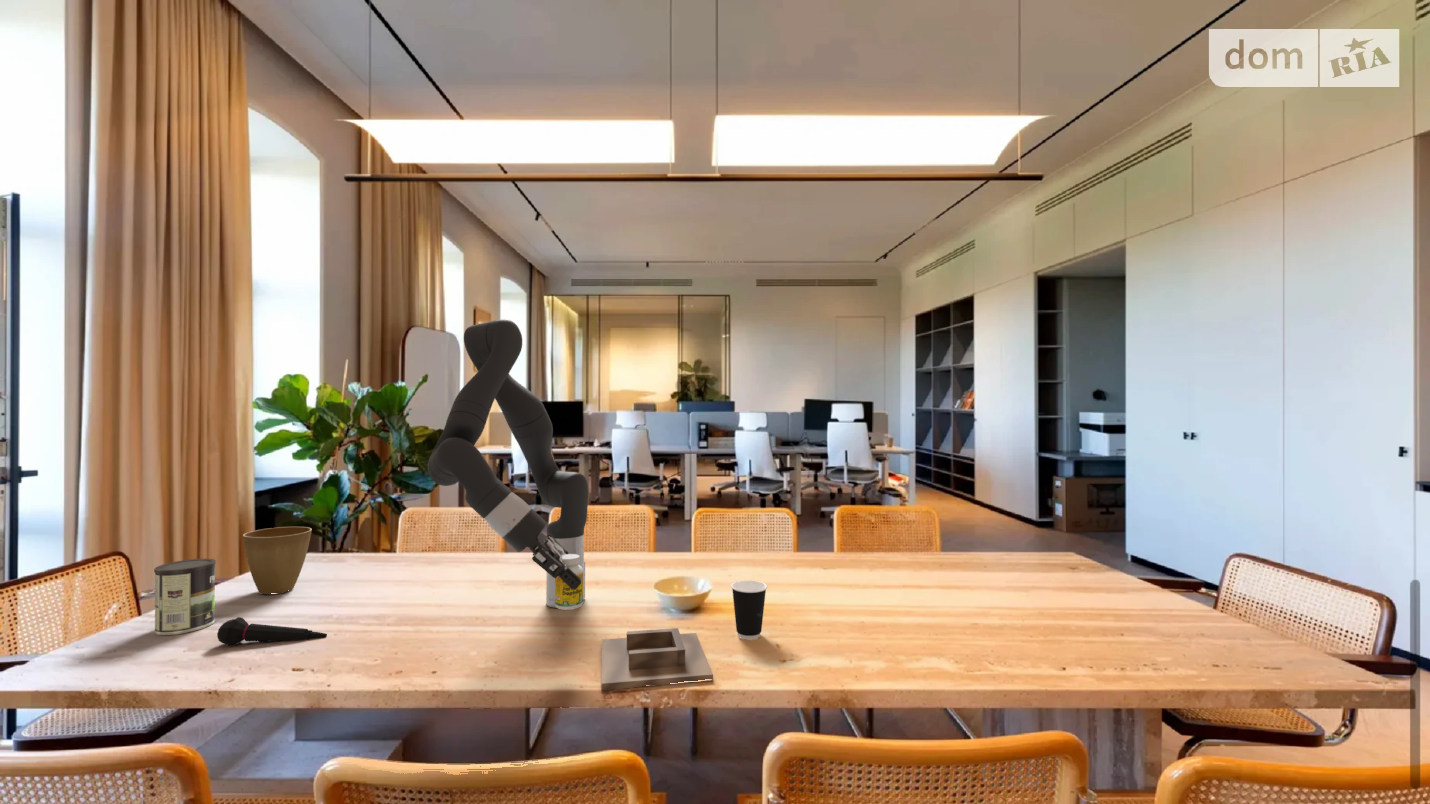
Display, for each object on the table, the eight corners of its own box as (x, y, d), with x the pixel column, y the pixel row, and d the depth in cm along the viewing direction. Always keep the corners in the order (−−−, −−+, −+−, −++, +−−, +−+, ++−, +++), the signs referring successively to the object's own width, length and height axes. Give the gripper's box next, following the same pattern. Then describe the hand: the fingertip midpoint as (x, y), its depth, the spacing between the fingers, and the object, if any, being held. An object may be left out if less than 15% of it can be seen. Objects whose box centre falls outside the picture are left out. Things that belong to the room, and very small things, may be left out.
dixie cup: (771, 641, 126) (772, 589, 126) (736, 644, 124) (736, 592, 124) (760, 627, 133) (760, 579, 133) (726, 630, 132) (727, 581, 132)
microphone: (327, 648, 129) (221, 645, 124) (334, 620, 131) (230, 616, 126) (318, 650, 124) (207, 647, 119) (325, 621, 126) (217, 616, 121)
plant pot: (284, 600, 151) (285, 537, 151) (227, 599, 151) (227, 537, 151) (323, 582, 166) (324, 525, 166) (271, 582, 166) (272, 525, 166)
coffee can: (211, 615, 140) (212, 555, 140) (218, 626, 133) (219, 563, 133) (151, 627, 132) (152, 564, 132) (155, 639, 125) (156, 573, 125)
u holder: (601, 690, 104) (601, 666, 104) (601, 645, 123) (601, 625, 123) (713, 681, 107) (713, 657, 107) (695, 638, 127) (696, 619, 127)
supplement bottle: (577, 599, 118) (578, 551, 118) (587, 607, 114) (587, 557, 114) (551, 604, 115) (551, 555, 115) (559, 612, 111) (560, 561, 111)
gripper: (524, 514, 106) (592, 577, 108) (535, 501, 120) (594, 557, 123) (493, 544, 105) (562, 608, 107) (507, 528, 120) (567, 584, 122)
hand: (578, 580), depth 115 cm, fingers closed on supplement bottle, 5 cm apart
